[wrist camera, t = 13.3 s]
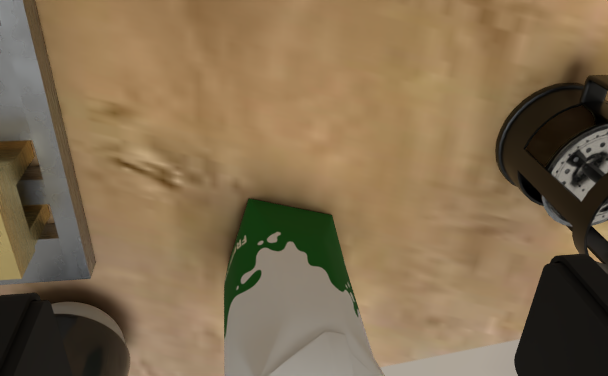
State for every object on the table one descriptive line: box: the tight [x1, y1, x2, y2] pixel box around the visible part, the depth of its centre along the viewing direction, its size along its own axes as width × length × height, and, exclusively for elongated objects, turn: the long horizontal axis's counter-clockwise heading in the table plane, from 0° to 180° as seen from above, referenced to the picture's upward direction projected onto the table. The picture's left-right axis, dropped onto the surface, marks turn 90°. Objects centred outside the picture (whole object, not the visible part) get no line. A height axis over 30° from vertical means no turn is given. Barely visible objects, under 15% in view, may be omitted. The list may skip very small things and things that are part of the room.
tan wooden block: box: [0, 140, 50, 280], centre depth 35 cm, size 7×3×7 cm, turn 179°
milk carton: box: [224, 199, 385, 376], centre depth 36 cm, size 9×9×20 cm
